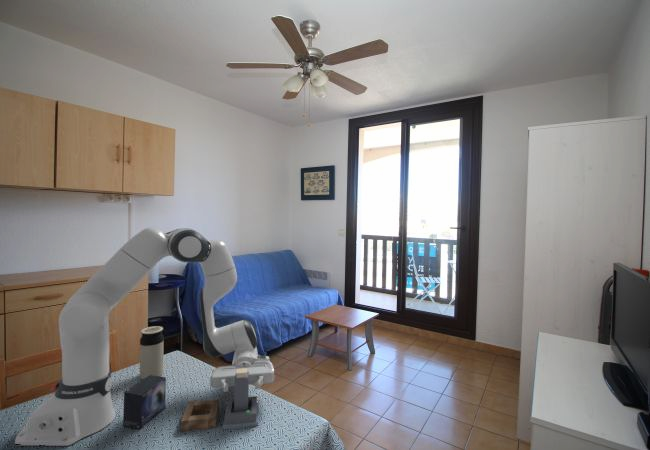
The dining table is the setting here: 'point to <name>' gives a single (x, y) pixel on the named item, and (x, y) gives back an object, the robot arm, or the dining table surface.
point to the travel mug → (151, 352)
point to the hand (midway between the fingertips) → (241, 388)
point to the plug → (241, 390)
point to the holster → (200, 421)
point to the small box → (144, 401)
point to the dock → (241, 415)
